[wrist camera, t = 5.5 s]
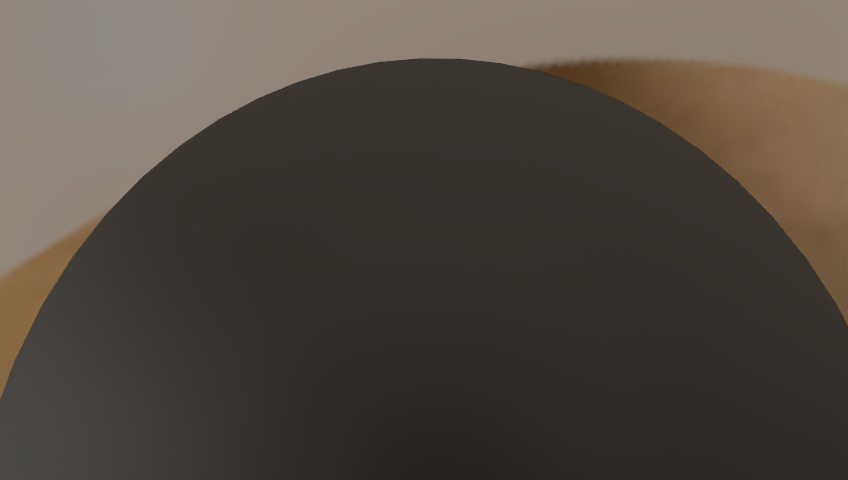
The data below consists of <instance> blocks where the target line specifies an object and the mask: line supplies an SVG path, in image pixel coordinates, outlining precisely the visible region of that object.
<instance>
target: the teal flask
mask: <svg viewBox="0 0 848 480" xmlns="http://www.w3.org/2000/svg"><path fill="white" fill-rule="evenodd" d="M0 480H848V325H847V323H846V322H845V320H844V318H843V316H842V314H841V312H840V310H839V308H838V306H837V305H836V303H835V302H834V300H833V299H832V297H831V296H830V294H829V293H828V291H827V290H826V288H825V286H824V285H823V283H822V282H821V280H820V279H819V277H818V276H817V274H816V273H815V271H814V270H813V268H812V267H811V265H810V264H809V262H808V261H807V259H806V258H805V257H804V255H803V254H802V253H801V252H800V250H799V249H798V248H797V247H796V245H795V244H794V243H793V242H792V240H791V239H790V238H789V237H788V236H787V234H786V233H785V232H784V231H783V229H782V228H781V227H780V226H779V224H778V223H777V222H776V221H775V219H774V218H773V217H772V216H771V215H770V214H769V213H768V212H767V211H766V210H765V209H764V208H763V207H762V206H761V205H760V204H759V203H758V202H757V201H756V200H755V199H754V198H753V197H752V196H751V195H750V194H749V193H748V192H747V191H746V190H745V189H744V188H743V187H742V186H741V185H740V183H739V182H738V181H737V180H735V179H734V178H733V177H732V176H731V175H729V174H728V173H727V172H726V171H725V170H723V169H722V168H721V167H720V166H719V165H717V164H716V163H715V162H714V161H713V160H711V159H710V158H709V157H708V156H707V155H705V154H704V153H703V152H702V151H701V150H699V149H698V148H697V147H695V146H694V145H692V144H691V143H689V142H688V141H686V140H685V139H683V138H682V137H680V136H679V135H677V134H676V133H675V132H673V131H672V130H670V129H669V128H667V127H666V126H664V125H663V124H661V123H660V122H658V121H656V120H654V119H652V118H650V117H649V116H647V115H645V114H643V113H641V112H640V111H638V110H636V109H634V108H632V107H630V106H629V105H627V104H625V103H623V102H621V101H619V100H617V99H614V98H612V97H609V96H607V95H605V94H602V93H600V92H598V91H595V90H593V89H591V88H588V87H586V86H584V85H581V84H578V83H575V82H572V81H569V80H565V79H562V78H559V77H556V76H553V75H550V74H546V73H543V72H539V71H535V70H530V69H525V68H520V67H516V66H511V65H506V64H501V63H492V62H483V61H474V60H465V59H409V60H398V61H387V62H378V63H372V64H367V65H362V66H357V67H352V68H347V69H341V70H336V71H333V72H330V73H326V74H323V75H320V76H317V77H313V78H310V79H306V80H303V81H300V82H297V83H294V84H292V85H290V86H287V87H285V88H282V89H280V90H277V91H275V92H273V93H270V94H268V95H266V96H263V97H260V98H258V99H256V100H254V101H252V102H251V103H249V104H247V105H245V106H243V107H241V108H239V109H238V110H236V111H234V112H232V113H230V114H228V115H226V116H224V117H223V118H221V119H219V120H217V121H216V122H214V123H213V124H211V125H210V126H208V127H207V128H205V129H204V130H202V131H201V132H199V133H198V134H197V135H195V136H194V137H192V138H191V139H189V140H188V141H186V142H185V143H183V144H182V145H180V146H179V147H178V148H177V149H175V150H174V151H173V152H172V153H171V154H169V155H168V156H167V157H166V158H165V159H163V160H162V161H161V162H160V163H159V164H157V165H156V166H155V167H154V168H153V169H151V170H150V171H149V172H148V173H147V174H146V175H144V176H143V177H142V178H141V179H140V180H139V181H138V182H137V183H136V184H135V185H134V186H133V187H132V188H131V189H130V190H129V191H128V192H127V193H126V194H125V195H124V196H123V198H122V199H121V200H120V201H119V202H118V203H117V204H116V205H115V206H114V207H113V208H112V209H111V210H110V211H109V212H108V213H107V214H106V215H105V216H104V218H103V219H102V220H101V222H100V223H99V224H98V225H97V227H96V228H95V229H94V230H93V232H92V233H91V234H90V236H89V237H88V238H87V239H86V241H85V242H84V243H83V244H82V246H81V247H80V248H79V249H78V251H77V252H76V253H75V255H74V256H73V257H72V259H71V260H70V262H69V263H68V265H67V267H66V268H65V270H64V271H63V273H62V275H61V276H60V278H59V279H58V281H57V282H56V284H55V286H54V287H53V289H52V290H51V292H50V294H49V295H48V297H47V298H46V300H45V302H44V303H43V305H42V306H41V308H40V310H39V312H38V315H37V317H36V319H35V321H34V323H33V325H32V327H31V329H30V331H29V333H28V335H27V337H26V339H25V341H24V343H23V345H22V347H21V349H20V351H19V353H18V355H17V357H16V359H15V361H14V364H13V367H12V370H11V372H10V375H9V378H8V381H7V383H6V386H5V389H4V392H3V394H2V397H1V400H0Z"/></svg>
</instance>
